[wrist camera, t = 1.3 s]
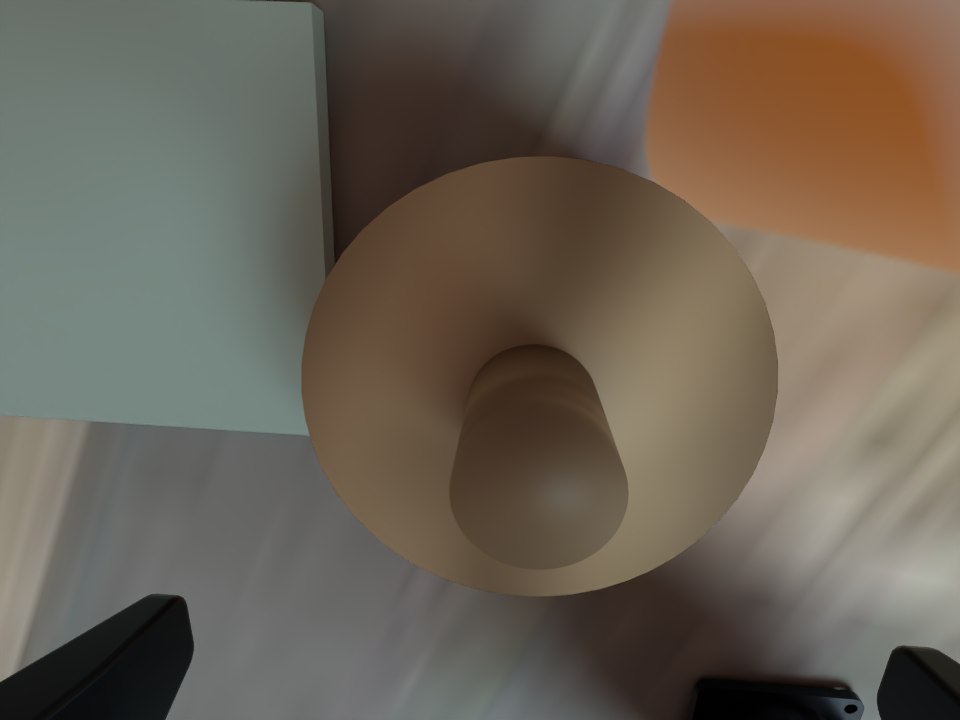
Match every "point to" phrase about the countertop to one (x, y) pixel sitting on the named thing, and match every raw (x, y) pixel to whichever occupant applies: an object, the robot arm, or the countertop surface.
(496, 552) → the lid
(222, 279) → the mat
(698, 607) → the countertop surface
